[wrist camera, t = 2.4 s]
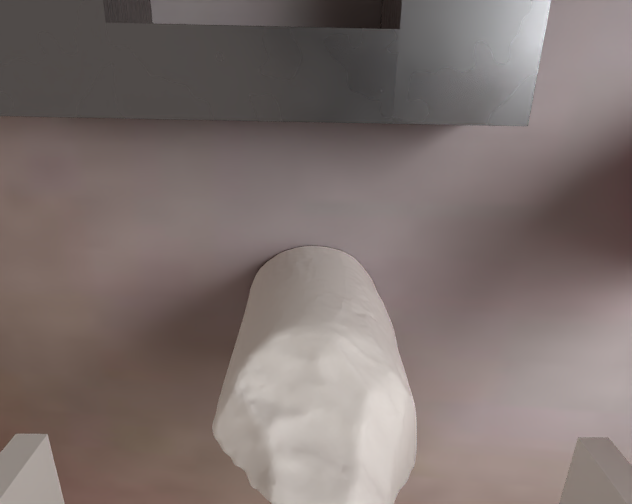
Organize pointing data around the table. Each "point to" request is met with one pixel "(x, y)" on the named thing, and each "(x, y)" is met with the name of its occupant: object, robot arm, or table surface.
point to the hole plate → (274, 64)
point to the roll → (317, 386)
